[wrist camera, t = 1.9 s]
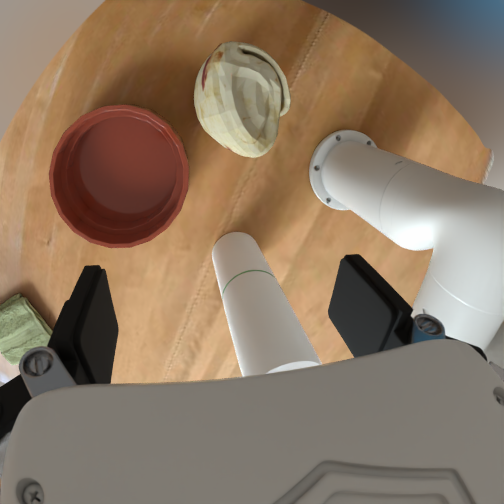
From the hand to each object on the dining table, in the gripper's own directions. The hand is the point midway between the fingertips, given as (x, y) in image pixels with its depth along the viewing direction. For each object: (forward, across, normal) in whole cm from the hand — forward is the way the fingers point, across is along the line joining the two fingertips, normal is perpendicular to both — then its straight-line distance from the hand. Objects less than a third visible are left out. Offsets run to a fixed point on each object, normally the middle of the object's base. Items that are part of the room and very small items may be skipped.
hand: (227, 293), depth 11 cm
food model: (+31, -2, -7) cm, 31 cm away
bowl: (+30, +10, +1) cm, 32 cm away
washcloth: (+30, +36, +29) cm, 55 cm away
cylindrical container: (+31, -6, +15) cm, 34 cm away
